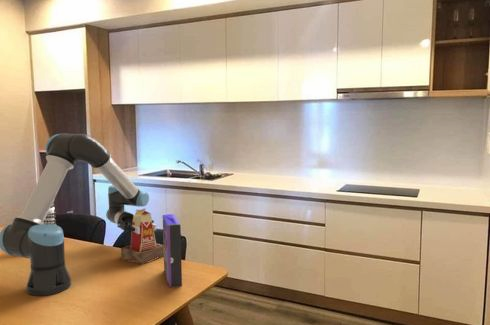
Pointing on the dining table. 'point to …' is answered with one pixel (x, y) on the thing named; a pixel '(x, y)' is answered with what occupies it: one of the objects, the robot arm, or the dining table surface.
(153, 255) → the open box
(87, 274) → the dining table surface
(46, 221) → the spiral seashell
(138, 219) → the milk carton
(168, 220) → the cereal box
